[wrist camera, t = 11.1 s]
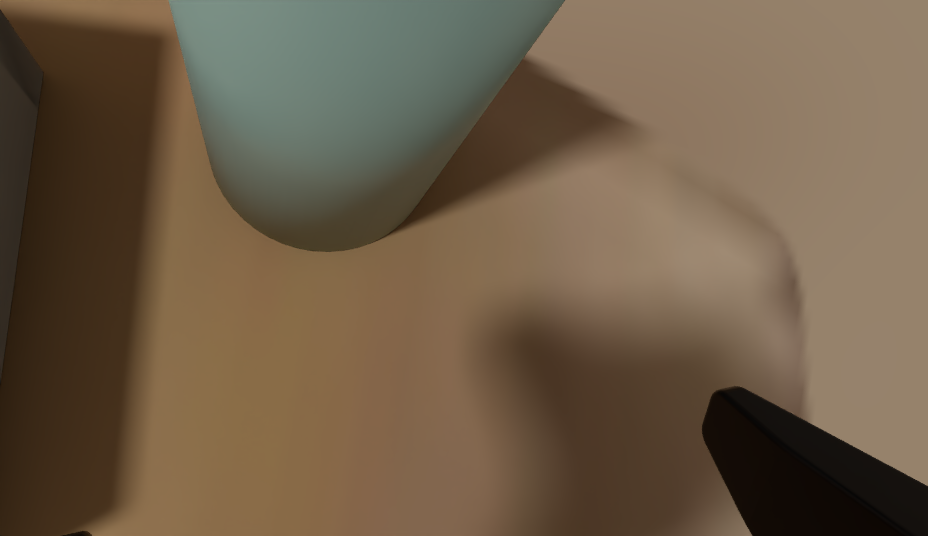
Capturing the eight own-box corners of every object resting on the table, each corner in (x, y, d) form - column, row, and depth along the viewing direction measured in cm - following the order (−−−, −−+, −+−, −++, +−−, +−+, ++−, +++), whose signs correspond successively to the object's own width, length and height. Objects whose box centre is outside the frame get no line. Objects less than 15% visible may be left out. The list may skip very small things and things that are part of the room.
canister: (392, 289, 19) (689, 2, 5) (163, 202, 18) (-174, -430, 4) (463, 94, 20) (823, -494, 7) (258, 2, 19) (226, -901, 6)
